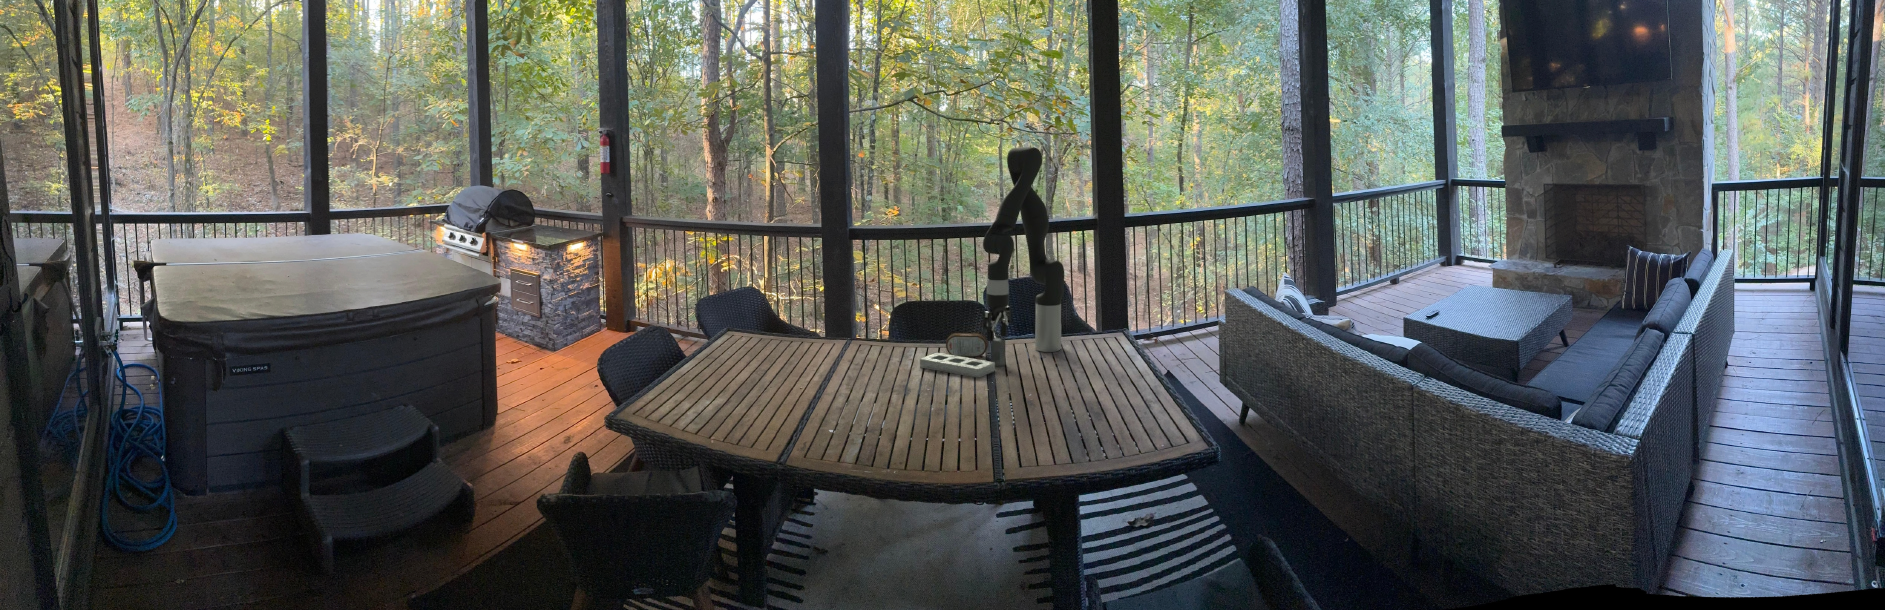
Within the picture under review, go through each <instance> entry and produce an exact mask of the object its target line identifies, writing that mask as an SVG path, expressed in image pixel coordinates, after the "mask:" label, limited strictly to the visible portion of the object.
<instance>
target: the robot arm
mask: <svg viewBox="0 0 1885 610" xmlns="http://www.w3.org/2000/svg"><path fill="white" fill-rule="evenodd" d="M1006 162H1007V169H1008V173H1009V175H1010V179H1011V182H1012V185H1013V187H1012V188H1011V189H1010V190H1009V191H1008V193H1007V194H1006V195H1005V196H1004V198H1003V199H1002V201H1001V202H1000V204H999V207H998V211H997V214H996V217H995V220H994V221H993V222H992V224H991V226H990V227H989V229H988V230H987V231H986V233H985V235H984V237H983V241H982V247H983V250H984V251H985V252H986V253H987V254H991V255H998V258H997V260H993V261H990V262H988V265H987V281H986V306H987V307H989V310H988V311H983V316H982V317H983V319H982V329H984V330H986V340H987V342H991V341H993V340H994V339H995V338H994V337H995V336H994V332H995V331H994V329H995V328H996V326H997V325H998V323H999V324H1000V336H1001V337H1004V338H1006V337H1008V336H1007V335H1008V326H1009V324H1011V323H1012V307H1011V306H1009V305H1010V304H1009V299H1010V297H1009V296H1010V284H1009V268H1010V267H1009V266H1010V262H1011V259H1012V256H1013V253H1014V248H1015V242H1014V239H1013V237H1012V236H1011V235H1010V234H1007V233H1005V232H1008V231H1013V230H1014V229H1015V228H1016V224H1017V222H1018V218H1019V216H1020V218H1021V222H1022V227H1023V230H1024V235H1025V239H1026V244H1027V251H1028V258H1029V259H1028V260H1029V269H1030V275H1031V278H1032V279H1033V281H1034V282H1035V283H1037V284H1040V285H1044V291H1043V292H1042V293H1039V294H1037V295H1036V296H1035V334H1034V335H1035V338H1034V339H1035V340H1034V341H1035V342H1034V343H1035V346H1034V347H1035V348H1034V349H1035V350H1036V351H1037V352H1042V353H1043V352H1045V353H1056V352H1059V351H1061V348H1062V299H1063V296H1064V289H1065V285H1064V284H1065V268H1064V265H1063V263H1062V262H1061V261H1059V260H1054V259H1049V258H1048V257H1047V255H1046V249H1045V241H1046V238H1047V235H1048V232H1049V227H1050V221H1049V220H1050V219H1049V215H1048V211H1047V207H1046V205H1045V203H1044V201H1043V200H1042V198H1041V197H1040V196H1039V194H1038V193H1037V192H1036V191H1035V190H1034V187H1032V186H1033V184H1034V183H1035V180H1036V178H1037V177H1038V174H1039V172H1040V169H1041V167H1042V164H1043V155H1042V153H1041V151H1040V149H1039V148H1037V147H1035V146H1024V147H1019V146H1018V147H1012V148H1011V149H1009V151H1008V153H1007V156H1006Z"/></svg>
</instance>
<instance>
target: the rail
mask: <svg viewBox="0 0 1885 610" xmlns="http://www.w3.org/2000/svg"><path fill="white" fill-rule="evenodd" d="M919 367H920V368H922V369H926V370H927V369H929V370H931V371H932V370H933V371H937V372H944V373H950V374H955V375H961V376H966V377H971V378H976V379H977V378H978V379H979V378H982V377H984V376H986V375H989V374H991V373H993V372H995V369H996V366H995V362H991V360H989V361H988V360H984V359H976V358H973V357H960V356H954V355H951V354H949V353H940V352H935V353H932V354H930V355H926V356H924V357H920V358H919Z"/></svg>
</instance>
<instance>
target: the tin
mask: <svg viewBox="0 0 1885 610" xmlns="http://www.w3.org/2000/svg"><path fill="white" fill-rule="evenodd" d="M988 347H989V341H988V340H987V337H985V336H984V335H983V334H980V333H975V332H974V333H972V332H970V333H969V332H965V333H964V332H954V333H951V334H950V335H948V337H947V338H946V341H945V348H946V352H947V354H948V355H954V356H960V357H966V358H980V357H982V356H983V355H985V353H986V352H987V350H988Z"/></svg>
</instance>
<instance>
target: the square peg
mask: <svg viewBox="0 0 1885 610" xmlns="http://www.w3.org/2000/svg"><path fill="white" fill-rule="evenodd" d="M990 362H995V367H998V368H1002V367H1003V366H1006V339H1004V338H999V337H995V338H994V340H993V341H990Z"/></svg>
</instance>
